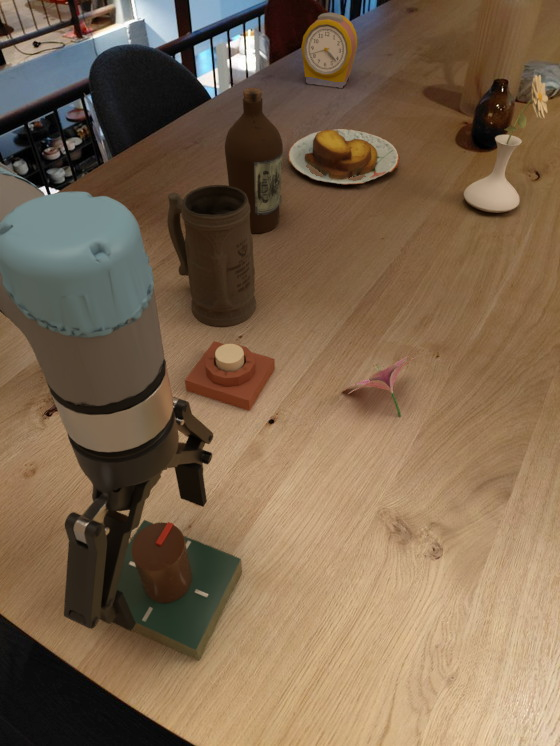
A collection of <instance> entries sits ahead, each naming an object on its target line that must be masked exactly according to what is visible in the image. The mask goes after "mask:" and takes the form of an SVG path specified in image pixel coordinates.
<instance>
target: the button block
mask: <svg viewBox="0 0 560 746" xmlns="http://www.w3.org/2000/svg"><path fill="white" fill-rule="evenodd" d="M224 344H225V343H222V342H219V341H215V340H213V341H212V343H211V344H210V346H209V347H208V348H207V349H206V351H205V352H204V353H203V355H202V356H201V357H200V359H199V360H198V362H197V363H196V365H195V366H194V367H193V368H192V369H191V371H190V372H189V374H188V375H187V376H186V377H185V378H184V384H185V390H186V391H187V392H189V393H193V394H194V395H195V394H196V395H198V396H202V397H205V398H208V399H211V400H214V401H217V402H221V403H224V404H226V405H229V406H231V407H232V406H233V407H236V408H239V409H242V410H244V411H245V410H246V411H248V412H250V411H251V409H252V408H253V406H254V404H255V403H256V401H257V400H258V398H259V396H260V395H261V393H262V392H263V390H264V388H265V386H266V385H267V383H268V381H269V379H270V378H271V377H272V375H273V373H274V371H275V370H276V368H275V366H276V364H275V360H276V359H275V358H273V357H269V356H266V355H262V354H259V353H255V352H252V351H251V350H250V349H249V348H248V347H247V346H244V345H240V344H237V343H235V344H236V345H238V346H240V347H241V348H242V349H243V351H244V364H243V366H242V367H241V368H240V369H239V370H237V371H232V372H225V371H222V370H220V369H219V368H218V367H217V365H216V359H215V352H216V350H217V348H219V347H220V346H222V345H224Z"/></svg>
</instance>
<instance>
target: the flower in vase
mask: <svg viewBox="0 0 560 746" xmlns="http://www.w3.org/2000/svg"><path fill="white" fill-rule="evenodd" d="M530 91H531V99H530V100H529V101H528V102H527V103H526V104H525V106H523V108H522V110H520V113H519V114H518V116H517V118H516V120H515V122H514V124H513V125H512V124H510V125H509V126H508V127H507V128H503V130H504V131H507V132H510V133H509V134H498V135H496V136H495V137H494V141H495V142H496V146H497V154H496V158H495V159H496V160H495V164H494V167H493V170H492V172H491V173H490V174H489V175H487V176H485V177H483V178H480V179H478V180H476V181H474V182H472V183H471V184H469V185H468V186H467V187H466V188H465V189H464V191H463V197H464V199H465V201H466V203H467V204H469V205H470V206H471V207H473V208H475V209H477V210H480V211H483V212H487V213H496V214H497V213H498V214H499V213H507V212H510V211H513V210H514V209H515V208H517V207H518V206H519V205H520V201H521V200H520V195H519V193H518V192H517V190H516V188H515V187H514V186H513V185H512V184H511V182H509V180H508V179H507V178H506V169H507V166H508V163H509V160H510V158H511V156H512V154H513V152H514V151H515V150H516V149H517V148H518V147H519V146H520V145H521V144H522V142H523V141H522V139H521V138H519V137H518V136H515V135H513V132H515V131H518V130H519V129H525V127H526V126H527V116H526V115H525V114H523V113H524V111H525V110H526V109H527V108H528V107H529V106H530V104H531V103H532V108H533V111H534V113H535V117H536V118H538V119H539V120H542V119H543V120H545V114H548V104H547V102H548V101H549V96H548V95H547V94H546V93H547V92H546V82H542V76H541V74H539V75H537V74H535V75H534V76H533V78H532V83H531V90H530ZM516 125H518V127H519V128H517V127H516Z"/></svg>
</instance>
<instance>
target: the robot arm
mask: <svg viewBox="0 0 560 746" xmlns="http://www.w3.org/2000/svg"><path fill="white" fill-rule="evenodd" d="M141 232H142V231H141V228H140V225H139V223H138V220H137V218H136V217H135V216H134V214H133V213H132V211H130V210H129V208H128V207H127V206H125V204H123V203H121V202H119V201H118V200H116V199H114V198H111V196H107V195H100V196H92V194H91V193H89V192H87V191H60V192H54V193H50V194H45V193H44V191H43V190H41V189H40V188H39V187H38V186H37V185H36V184H34V183H32V182H31V181H29V180H28V179H26V178H25V177H22V176H21V175H18V174H16V173H15V172H11V171H9V170H8V169H5V168H4V167H1V166H0V313H1V314H3V316H5V317H6V318H7V319H8V320H10V322H11V323H13V324H14V326H15V327H17V329H18V330H19V331H20V332H21V333H22V334H23V336H24V337H25V338H26V340H27V341H28V343H29V345H30V347H31V350H32V351H33V353H34V356H35V358H36V360H37V363H38V364H39V367H40V370H41V372H42V374H43V376H44V379H45V382H46V385H47V387H48V389H49V392H50V395H51V397H52V399H53V402H54V405H55V408H56V411H57V412H58V415H59V417H60V420H61V422H62V424H63V427H64V429H65V431H66V433H67V437H68V440H69V443H70V446H71V449H72V450H73V453H74V456H75V458H76V460H77V464H78V466H79V467H80V469H81V470H82V472H83V473H84V474H85V476H86V477H87V478H88V480H89V481H90V483H91V484H92V493H91V498H92V502H91V504H90V505H89V506H88V507H87V509H85V511H84V513H82V514H80V513H77V512H76V511H72V512H71V513H69V514H68V515H67V517H66V518H65V521H64V529H65V533H66V536H67V540H68V549H67V564H66V576H65V591H64V605H63V617H64V618H67V619H69V620H71V621H72V622H75V623H77V624H79V625H81V626H84V627H85V628H88V629H90V630H93V629H94V628H96V627H97V626H98V623H99V621H102V622H104V623H106V624H108V625H113V624H115V625H117V626H119V627H121V628H123V629H125V630H127V631H130V632H132V631H133V630H132V629H133V627H134V626H135V624H136V623H135V620H134V618H133V616H132V613H131V611H130V609H129V606H128V604H127V601H126V599H125V597H124V594H123V592H121V591H118V590H117V588H118V584H119V580H120V576H121V572H122V568H123V564H124V560H125V555H126V551H127V547H128V544H129V542H130V540H131V535H132V532H133V530H135V529H136V528H137V529H138V528H139V527H140V523H141V518H142V516H143V511H144V507H145V502H146V500H147V499H148V498H149V497H150V496H151V491H152V490H153V489H154V487H155V486H156V485H157V484H158V482H159V481H160V480H161V478H162V473H163V471H167V470H168V469H173V468H174V471H175V472H174V473H175V478H176V481H177V488H178V492H179V498H180V499H182V500H184V501H187V502H189V503H191V504H194V505H197V506H200V507H202V508H204V507H205V505H206V504H207V503H208V502H207V494H206V487H205V486H206V485H205V477H204V464H205V465H209V464H210V463H211V461H212V458H213V453H212V452H211V451H209V450H208V451H207V450H205V449H204V447H205V445H210V444H211V443H212V442H213V439H214V432H213V431H211V430H210V429H209V428H208V427H207V426H206V425H205V424H204V423H203V422H202V421H201V420H199V419H198V418H197V417H196V416H195V415H194V414H193V412H192V410H191V405H190V402H189V401H187V400H184V399H181V398H178V397H176V396H174V395H173V392H172V385H171V382H170V375H169V371H168V366H167V365H168V364H167V361H166V359H165V351H164V346H163V345H164V344H163V338H162V333H161V327H160V319H159V313H158V307H157V306H158V305H157V301H156V299H157V298H156V293H155V284H154V283H155V280H154V279H155V277H154V274H153V267H152V265H150V257H149V256H148V253H147V252H146V250H145V246H144V241H143V236H142V233H141ZM179 433H181V434H182V435H184V436H185V437H187V440H186V442H183V441H182V442H179V440H180V436H179ZM123 511H128V515H127V514H124V513H122V512H123Z"/></svg>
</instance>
